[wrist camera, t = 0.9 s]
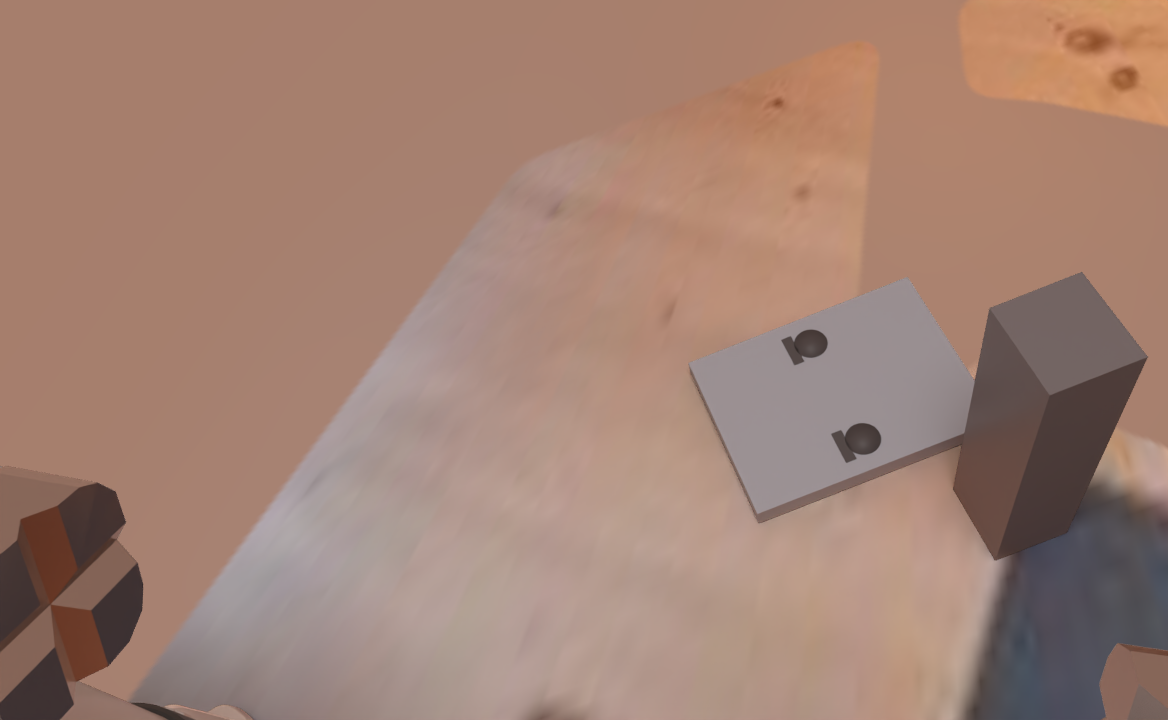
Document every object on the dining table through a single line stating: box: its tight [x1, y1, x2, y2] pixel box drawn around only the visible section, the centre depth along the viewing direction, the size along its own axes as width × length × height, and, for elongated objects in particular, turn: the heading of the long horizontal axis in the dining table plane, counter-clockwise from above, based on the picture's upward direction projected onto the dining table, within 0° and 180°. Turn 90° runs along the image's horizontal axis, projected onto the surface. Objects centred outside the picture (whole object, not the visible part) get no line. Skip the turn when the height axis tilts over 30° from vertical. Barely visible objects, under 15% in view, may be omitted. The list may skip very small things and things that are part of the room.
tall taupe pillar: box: [953, 272, 1148, 561], centre depth 54 cm, size 5×5×20 cm
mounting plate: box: [688, 278, 975, 523], centre depth 68 cm, size 16×12×2 cm
